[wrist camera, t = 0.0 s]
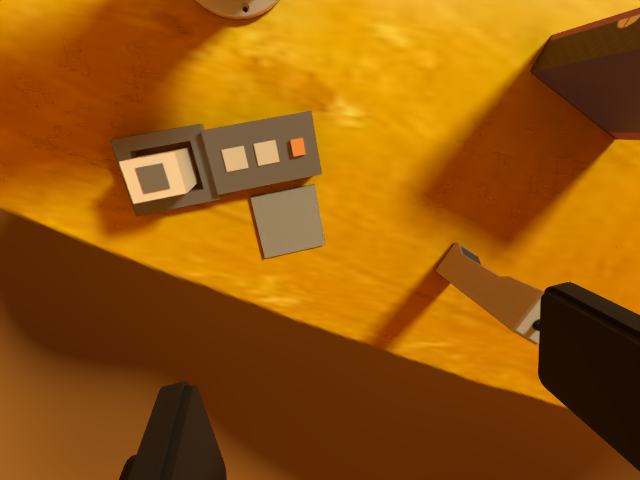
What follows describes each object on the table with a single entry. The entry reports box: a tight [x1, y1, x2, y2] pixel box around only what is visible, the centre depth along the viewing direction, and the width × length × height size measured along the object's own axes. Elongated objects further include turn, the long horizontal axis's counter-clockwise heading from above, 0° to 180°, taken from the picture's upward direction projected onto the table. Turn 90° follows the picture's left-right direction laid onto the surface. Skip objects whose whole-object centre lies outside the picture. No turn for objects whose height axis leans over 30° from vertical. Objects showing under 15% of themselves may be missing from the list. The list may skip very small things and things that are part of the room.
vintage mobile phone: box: [436, 242, 544, 344], centre depth 40 cm, size 4×5×25 cm
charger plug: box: [119, 148, 198, 204], centre depth 37 cm, size 4×5×8 cm
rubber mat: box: [251, 184, 325, 258], centre depth 45 cm, size 8×8×1 cm
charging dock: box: [110, 111, 322, 216], centre depth 40 cm, size 8×21×4 cm, turn 100°
